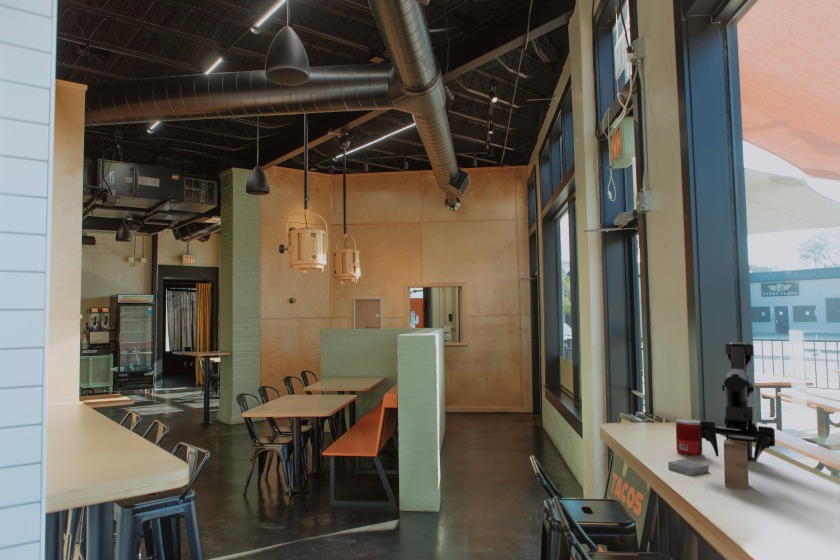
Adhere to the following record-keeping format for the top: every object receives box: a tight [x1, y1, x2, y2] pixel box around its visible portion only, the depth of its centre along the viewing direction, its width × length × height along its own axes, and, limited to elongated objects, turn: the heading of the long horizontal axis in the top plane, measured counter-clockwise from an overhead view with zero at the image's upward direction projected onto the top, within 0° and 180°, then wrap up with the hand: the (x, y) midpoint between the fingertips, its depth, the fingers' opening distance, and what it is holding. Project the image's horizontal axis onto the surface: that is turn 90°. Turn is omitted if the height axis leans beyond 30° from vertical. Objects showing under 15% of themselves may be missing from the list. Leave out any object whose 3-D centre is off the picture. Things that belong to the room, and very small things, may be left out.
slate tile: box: [667, 458, 710, 476], centre depth 167 cm, size 8×8×2 cm
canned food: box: [675, 418, 703, 456], centre depth 188 cm, size 8×8×11 cm
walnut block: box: [723, 438, 749, 491], centre depth 153 cm, size 6×6×12 cm
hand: (735, 458), depth 152 cm, fingers open, 9 cm apart
